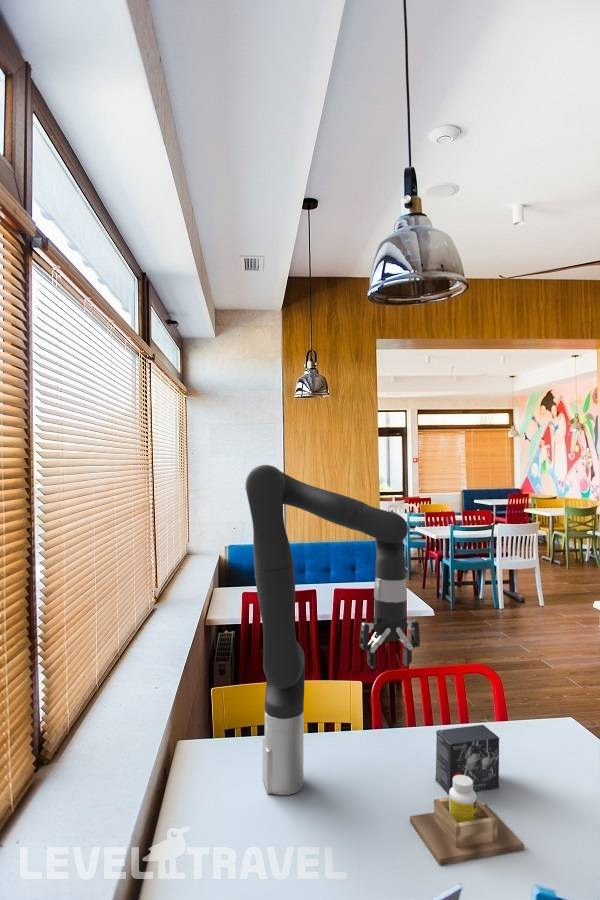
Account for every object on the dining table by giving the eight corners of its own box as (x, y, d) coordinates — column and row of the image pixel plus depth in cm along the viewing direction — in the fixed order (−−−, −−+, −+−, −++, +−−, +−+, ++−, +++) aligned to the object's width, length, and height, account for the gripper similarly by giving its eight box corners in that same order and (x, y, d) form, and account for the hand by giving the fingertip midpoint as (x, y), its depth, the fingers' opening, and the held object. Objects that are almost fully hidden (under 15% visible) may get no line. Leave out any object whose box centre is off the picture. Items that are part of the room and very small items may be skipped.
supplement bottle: (479, 839, 109) (478, 788, 109) (451, 836, 110) (450, 786, 110) (474, 821, 114) (473, 773, 115) (447, 819, 115) (447, 771, 115)
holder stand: (439, 865, 104) (439, 837, 104) (409, 821, 116) (409, 796, 116) (523, 850, 108) (523, 822, 108) (486, 809, 120) (486, 785, 121)
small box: (450, 797, 125) (449, 744, 125) (434, 781, 131) (434, 730, 132) (500, 788, 128) (500, 736, 129) (483, 772, 135) (482, 723, 135)
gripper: (367, 602, 125) (366, 674, 125) (425, 599, 128) (424, 669, 128) (356, 594, 132) (355, 662, 132) (411, 592, 136) (410, 658, 135)
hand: (389, 666), depth 130 cm, fingers open, 8 cm apart
